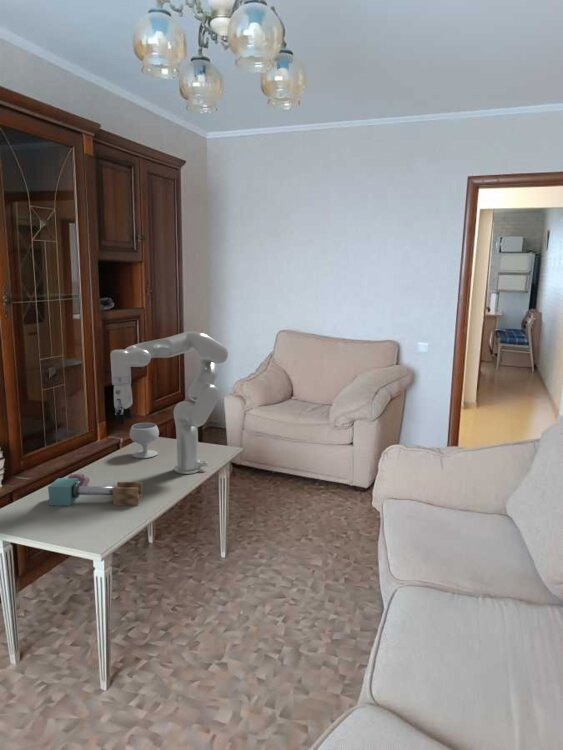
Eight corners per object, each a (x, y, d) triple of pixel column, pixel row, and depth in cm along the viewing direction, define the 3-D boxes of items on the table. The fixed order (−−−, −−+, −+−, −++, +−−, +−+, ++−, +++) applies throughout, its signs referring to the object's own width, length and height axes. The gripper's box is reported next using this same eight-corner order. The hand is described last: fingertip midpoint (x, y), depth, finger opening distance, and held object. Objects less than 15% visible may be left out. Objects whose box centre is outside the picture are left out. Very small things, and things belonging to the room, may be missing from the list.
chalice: (165, 452, 271) (164, 423, 269) (148, 461, 259) (146, 430, 256) (142, 449, 277) (141, 420, 274) (124, 457, 264) (123, 427, 262)
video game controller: (88, 492, 226) (92, 475, 228) (81, 491, 222) (85, 474, 223) (68, 489, 229) (72, 472, 231) (61, 488, 225) (65, 471, 226)
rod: (122, 494, 215) (121, 481, 214) (117, 500, 210) (116, 487, 209) (58, 494, 216) (57, 481, 215) (52, 499, 210) (51, 486, 209)
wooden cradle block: (142, 498, 216) (142, 482, 215) (138, 505, 209) (137, 488, 208) (119, 497, 216) (118, 481, 215) (113, 505, 209) (112, 488, 208)
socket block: (79, 496, 217) (78, 478, 216) (70, 505, 209) (68, 487, 207) (59, 496, 218) (58, 478, 216) (49, 505, 209) (48, 486, 207)
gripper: (124, 384, 212) (126, 426, 215) (136, 376, 229) (138, 415, 232) (105, 384, 212) (107, 426, 215) (119, 376, 229) (121, 415, 232)
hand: (123, 420), depth 223 cm, fingers open, 9 cm apart
